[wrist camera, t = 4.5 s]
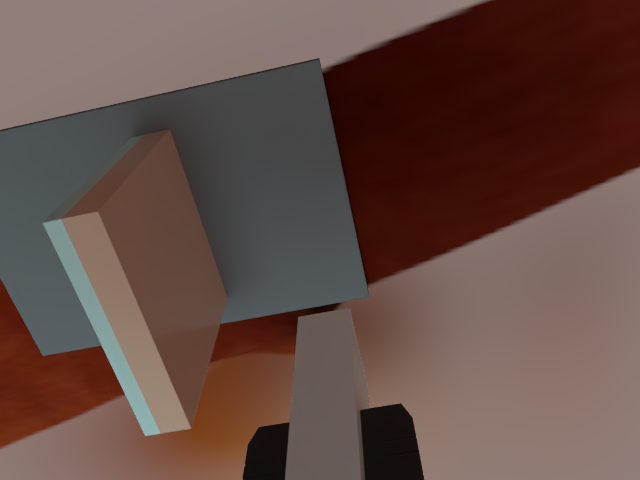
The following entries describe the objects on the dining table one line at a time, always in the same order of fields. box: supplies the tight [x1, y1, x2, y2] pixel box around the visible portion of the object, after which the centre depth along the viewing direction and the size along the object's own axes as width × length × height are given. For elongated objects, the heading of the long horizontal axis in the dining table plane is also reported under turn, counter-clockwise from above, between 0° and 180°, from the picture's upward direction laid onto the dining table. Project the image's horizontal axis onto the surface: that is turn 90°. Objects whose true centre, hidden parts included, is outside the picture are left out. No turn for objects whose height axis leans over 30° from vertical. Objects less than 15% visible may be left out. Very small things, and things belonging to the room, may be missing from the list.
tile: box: [43, 129, 228, 436], centre depth 23 cm, size 2×9×9 cm, turn 12°
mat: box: [0, 58, 369, 356], centre depth 27 cm, size 18×12×1 cm, turn 102°
